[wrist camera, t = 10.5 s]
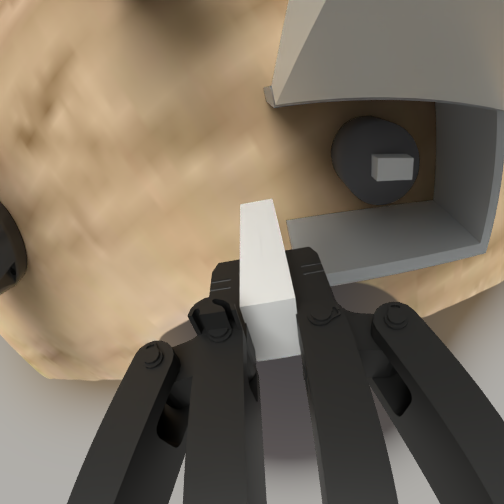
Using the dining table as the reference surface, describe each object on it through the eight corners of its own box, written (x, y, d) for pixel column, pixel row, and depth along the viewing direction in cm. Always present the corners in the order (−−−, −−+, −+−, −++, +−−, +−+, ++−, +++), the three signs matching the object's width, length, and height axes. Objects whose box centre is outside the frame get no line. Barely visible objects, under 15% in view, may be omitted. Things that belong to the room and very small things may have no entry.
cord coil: (332, 192, 24) (347, 214, 20) (328, 116, 20) (346, 123, 16) (398, 187, 24) (422, 208, 20) (400, 117, 20) (428, 126, 16)
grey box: (287, 231, 26) (302, 301, 18) (263, 87, 19) (271, 85, 11) (440, 209, 24) (492, 259, 16) (443, 84, 17) (514, 99, 9)
